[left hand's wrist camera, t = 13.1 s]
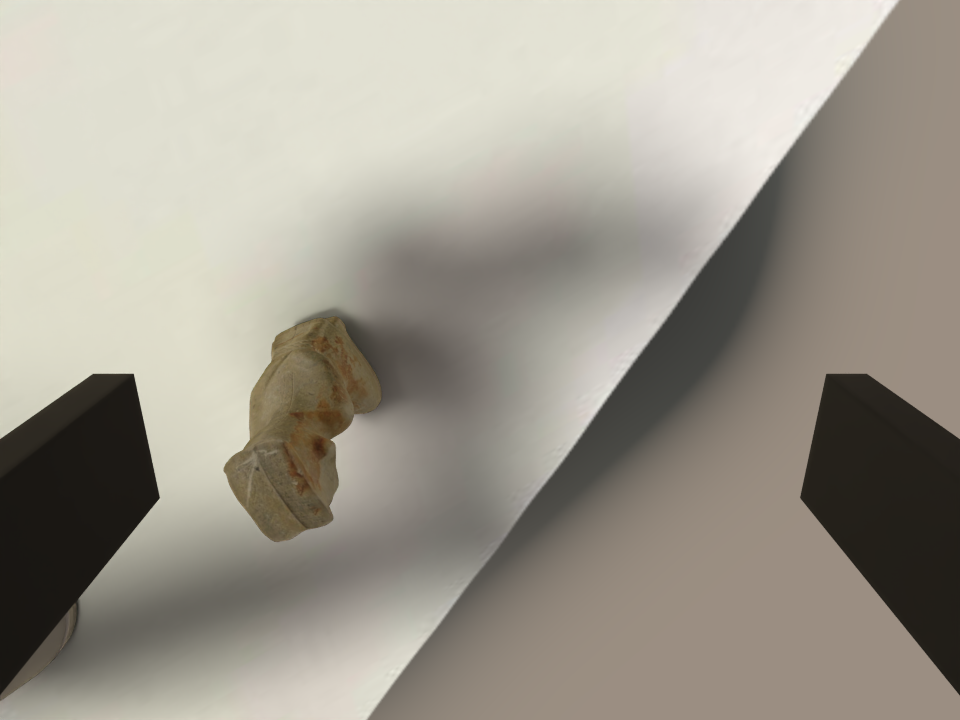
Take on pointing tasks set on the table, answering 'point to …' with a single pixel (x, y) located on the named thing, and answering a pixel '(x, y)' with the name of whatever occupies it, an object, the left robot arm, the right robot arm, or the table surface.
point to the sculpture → (300, 427)
